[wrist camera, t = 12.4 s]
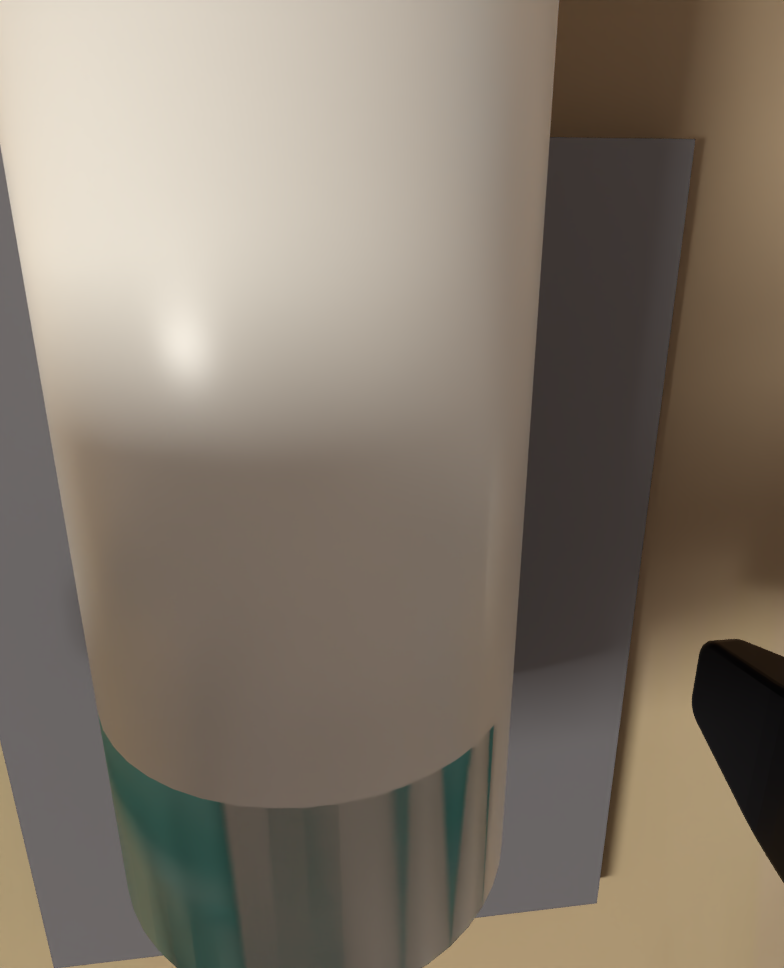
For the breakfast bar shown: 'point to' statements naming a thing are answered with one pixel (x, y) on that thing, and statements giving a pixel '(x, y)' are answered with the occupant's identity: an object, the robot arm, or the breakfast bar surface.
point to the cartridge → (290, 441)
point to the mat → (543, 574)
